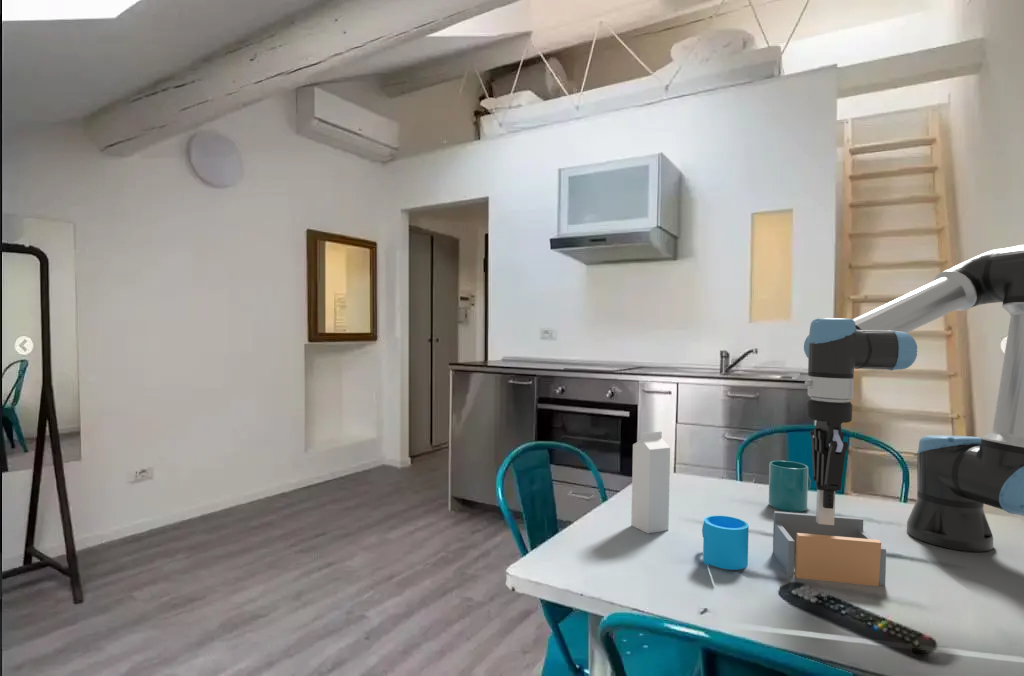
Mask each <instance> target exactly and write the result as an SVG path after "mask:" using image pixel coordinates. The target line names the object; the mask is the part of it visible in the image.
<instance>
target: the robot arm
mask: <svg viewBox="0 0 1024 676" xmlns="http://www.w3.org/2000/svg"><path fill="white" fill-rule="evenodd" d="M993 303H994V304H995V303H997V304H998V303H1002V305H1001V307H1002V308H1003V309H1004V310H1005V311H1006V312H1007V313H1008V314H1009V316H1010V319H1009V324H1008V325H1009V326H1008V331H1007V336H1006V337H1007V338H1006V343H1005V344H1006V345H1005V350H1004V356H1003V362H1002V369H1001V375H1000V376H1001V377H1000V380H999V381H1000V382H999V386H998V388H999V389H998V395H997V398H996V399H997V401H996V405H995V413H994V419H993V425H992V430H991V431H990V432H989V433H987V434H985V435H984V436H981V437H980V436H969V435H968V436H967V435H942V434H941V435H938V434H937V435H925V436H924V435H923V436H922V437H921V438H920V439H919V442H918V451H917V452H916V454H917V460H916V461H917V464H916V465H917V467H916V468H917V473H916V474H917V477H916V479H917V484H916V486H917V489H916V490H917V491H916V492H917V493H916V501H915V503H914V505H913V507H912V509H911V512H910V514H909V516H908V519H907V521H906V533H907V534H909V535H910V536H911V537H913V538H914V539H917V540H919V541H922V542H924V543H927V544H929V545H933V546H937V547H941V548H946V549H952V550H958V551H964V552H988V551H991V550H993V549H994V536H993V533H992V530H991V527H990V523H989V522H988V518H987V516H986V513H985V511H984V510H985V509H984V505H987V506H989V507H993V508H997V509H999V510H1003V511H1004V512H1006V513H1008V514H1011V515H1017V516H1018V515H1019V516H1023V517H1024V244H1019V245H1014V246H1008V247H1007V246H1005V247H1001V248H995V249H991V250H988V251H986V252H983V253H979V254H978V255H976V256H973V257H971V258H969V259H966V260H965V261H962V262H960V263H958V264H956V265H954V266H951V267H950V268H947V269H944V271H943V270H942V271H941V272H939V273H938V274H936V276H935V277H934V279H933V281H930V282H929V283H927V284H924V285H922V286H920V287H918V288H916V289H913V290H911V291H910V292H908V293H905V294H904V295H901V296H899V297H897V298H895V299H893V300H890V301H889V302H887V303H884V304H882V305H880V306H878V307H876V308H874V309H872V310H870V311H868V312H865V313H863V314H861V315H858V316H857V317H854V318H853V319H852V318H838V317H837V318H836V317H832V318H831V317H819V318H814V319H813V320H812V321H811V322H810V327H809V332H808V333H809V334H808V335H807V336H806V338H805V340H804V343H803V351H804V354H805V357H806V358H807V361H808V364H807V365H808V366H807V380H805V381H804V385H805V387H807V396H808V397H810V398H808V399H807V401H806V414H805V415H806V417H807V418H808V419H809V420H812V421H816V422H815V427H814V428H813V430H810V432H809V435H810V439H811V453H812V454H811V455H812V459H811V461H812V480H813V481H814V482H815V485H816V508H815V509H816V510H815V514H816V522H817V523H818V524H825V525H834V516H836V515H835V514H836V513H835V508H836V492H837V491H839V492H840V491H841V488H842V480H843V474H844V465H845V458H846V453H847V450H848V447H849V444H848V442H847V441H844V432H843V430H842V424H843V423H847V424H848V423H850V422H852V420H853V403H852V402H850V400H853V398H854V383H855V382H854V380H855V379H854V378H855V377H854V374H855V373H854V372H855V370H861V369H862V370H863V369H864V370H882V371H883V370H884V371H885V370H886V371H890V372H892V371H896V370H898V371H899V370H906V369H908V368H910V367H911V366H913V364H914V363H915V362H916V359H917V356H918V345H917V342H916V339H914V337H913V336H912V335H911V334H910V333H909V332H912V331H914V330H916V329H918V328H921V327H923V326H924V325H927V324H928V323H931V322H933V321H936V320H938V319H939V318H941V317H944V316H946V315H948V314H949V313H952V312H954V311H957V312H962V311H963V312H964V311H967V310H970V309H972V308H973V307H977V306H980V305H981V306H982V305H986V304H993Z"/></svg>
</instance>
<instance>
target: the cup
mask: <svg viewBox="0 0 1024 676" xmlns="http://www.w3.org/2000/svg"><path fill="white" fill-rule="evenodd" d="M768 466H769V468H768V469H769V473H768V504H769V505H770V507H772V508H774V509H776V510H777V511H778V510H779V511H781V512H787V511H788V512H791V513H802V512H805V511H807V510H808V502H809V501H808V498H809V497H808V495H809V494H808V493H809V490H810V489H811V483H812V481H811V478H810V476H809V466H808V465H806V464H805V463H802V462H797V461H791V460H790V461H789V460H771V461H770V462H769V465H768Z"/></svg>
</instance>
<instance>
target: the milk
mask: <svg viewBox="0 0 1024 676" xmlns="http://www.w3.org/2000/svg"><path fill="white" fill-rule="evenodd" d="M640 436H641V437H640V440H639V441H637V442H635V443H633V444H632V472H631V473H632V474H631V475H632V477H631V479H632V480H631V516H630V517H631V520H630V521H631V523H630V524H631V527H634V528H636V529H637V530H640V531H642V532H644V533H646V534H655V533H659V532H664V531H669V520H670V519H669V518H670V473H671V472H670V471H671V470H670V468H671V467H670V466H671V465H670V463H671V447H670V446H669V445H668V443H667V442H666V441H665V440H664V439H663V434H662V431H650V432H641V434H640Z"/></svg>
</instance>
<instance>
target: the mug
mask: <svg viewBox="0 0 1024 676" xmlns="http://www.w3.org/2000/svg"><path fill="white" fill-rule="evenodd" d="M701 533H702V537H703V542H702V544H703V551H702V563H704V565H705V566H707V567H708V568H709V567H710V565H711V566H714V567H716V568H719V569H722V570H723V569H724V570H725V569H726V570H734V571H735V570H743V569H746V568H748V565H749V533H750V531H749V523H747V522H746V521H745V520H743V519H741V518H738V517H733V516H730V515H719V514H718V515H708V516H705V517H704V518H703V523H702V527H701Z"/></svg>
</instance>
